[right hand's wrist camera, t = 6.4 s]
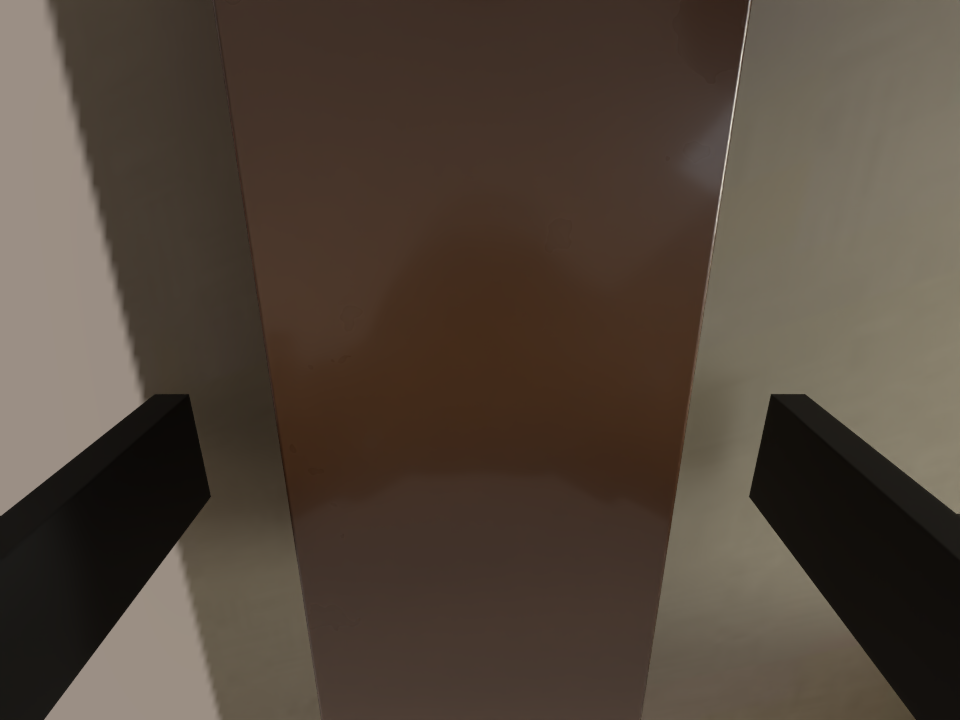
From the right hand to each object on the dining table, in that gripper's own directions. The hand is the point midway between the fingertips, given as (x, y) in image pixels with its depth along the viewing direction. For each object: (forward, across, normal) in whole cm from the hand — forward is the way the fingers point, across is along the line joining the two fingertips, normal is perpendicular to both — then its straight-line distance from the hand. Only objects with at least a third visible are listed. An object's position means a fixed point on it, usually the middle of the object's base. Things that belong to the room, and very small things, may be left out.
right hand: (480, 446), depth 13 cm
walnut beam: (+1, 0, +8) cm, 8 cm away
